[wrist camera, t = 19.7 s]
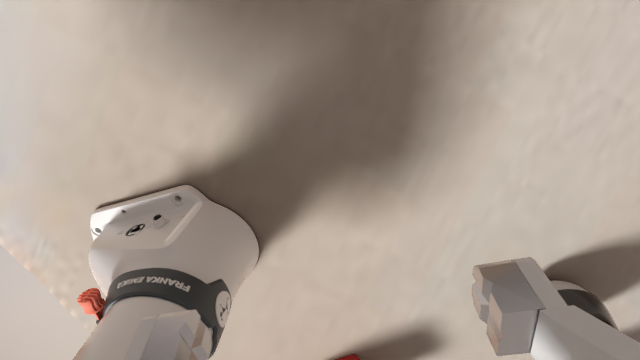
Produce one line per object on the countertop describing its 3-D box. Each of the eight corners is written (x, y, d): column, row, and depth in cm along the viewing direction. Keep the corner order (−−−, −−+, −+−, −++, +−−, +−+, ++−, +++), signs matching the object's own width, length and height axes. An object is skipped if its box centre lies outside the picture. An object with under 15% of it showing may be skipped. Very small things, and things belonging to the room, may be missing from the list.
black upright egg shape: (601, 268, 46) (699, 386, 33) (573, 323, 52) (648, 444, 39) (518, 264, 47) (582, 378, 34) (498, 318, 52) (547, 435, 39)
